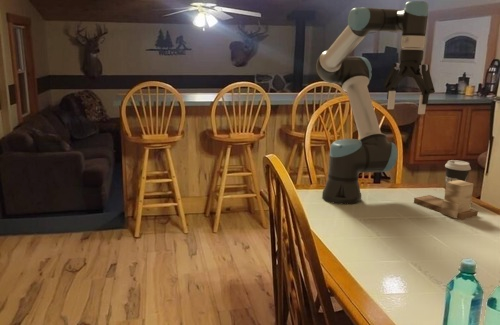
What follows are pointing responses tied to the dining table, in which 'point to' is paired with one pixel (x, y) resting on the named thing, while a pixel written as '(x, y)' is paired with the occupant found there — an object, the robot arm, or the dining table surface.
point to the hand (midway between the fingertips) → (405, 111)
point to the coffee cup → (457, 170)
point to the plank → (436, 205)
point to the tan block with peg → (457, 198)
